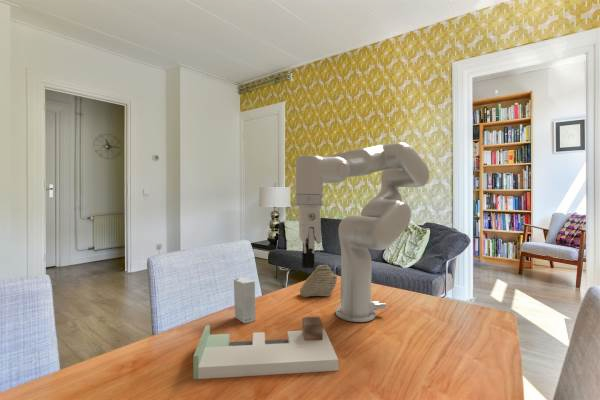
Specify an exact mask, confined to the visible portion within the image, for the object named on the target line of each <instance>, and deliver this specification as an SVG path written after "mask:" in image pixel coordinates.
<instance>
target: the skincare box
mask: <svg viewBox="0 0 600 400" xmlns="http://www.w3.org/2000/svg"><path fill="white" fill-rule="evenodd" d="M255 282H256V281H255V280H251V279H249V278H247V277H244V276H243V277H239V278H235V279H233V293H234V294H233V296H234V297H233V299H234V318H235V319H237V320H238V321H240V322H241V323H242V324H248V323H251V322H255V321H256V317H257V316H256V287H255V286H256V285H255V284H256V283H255Z"/></svg>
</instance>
